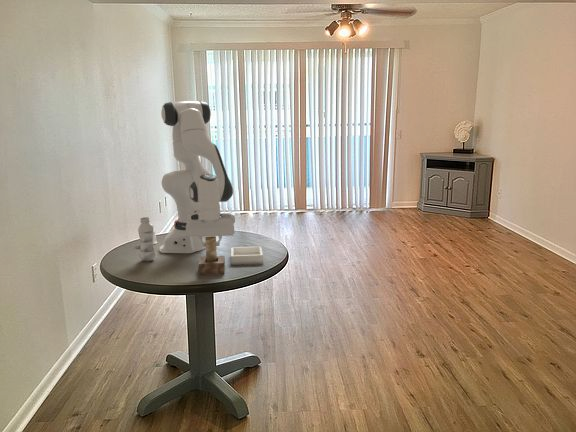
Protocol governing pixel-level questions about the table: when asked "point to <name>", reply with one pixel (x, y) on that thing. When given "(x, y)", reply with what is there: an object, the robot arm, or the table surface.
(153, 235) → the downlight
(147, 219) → the plastic bottle
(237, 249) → the tray
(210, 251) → the pin
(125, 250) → the table surface
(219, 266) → the socket
